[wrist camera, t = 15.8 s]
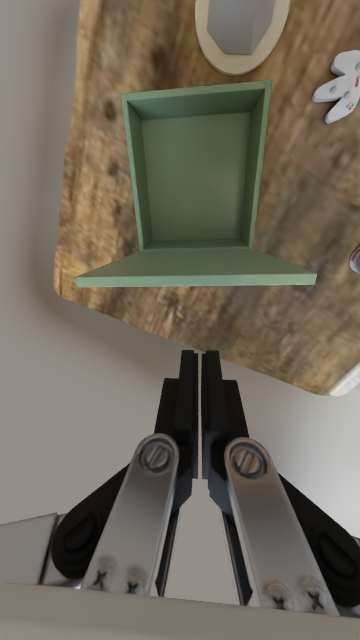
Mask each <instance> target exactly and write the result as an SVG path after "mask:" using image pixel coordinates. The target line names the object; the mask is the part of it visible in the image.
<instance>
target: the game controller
mask: <svg viewBox="0 0 360 640" xmlns="http://www.w3.org/2000/svg"><path fill="white" fill-rule="evenodd" d="M331 71H332V72H333V73H334V74H336V75H338V76H340V77H338V78H336V79H334V80H332V81H330V82H328V83H326V84H324V85H322V86H320V87H319V88H318V89H317V90H316V91H315V93H314V94H313V96H312V101H313V102H315V103H318V102H330V101H335V100H337V99H339V102H338V103H337V104H336V105H335V106H334V107H333V108H332V109H331V110H330V111H329V112H328V113H327V115H326V116H325V122H326V123H328V124H329V123H332V122H334V121H337V120H339V119H341V118H343V117H345V116H346V115H348V114H349V113H350V112H352V111H353V109H354V108H355V106H356V104H357V102H358V100H359V97H360V51H358V50H353V51H347V52H342V53H339V54H338V55H337V56H336V58H335V59H334V61H333V62H332V64H331Z"/></svg>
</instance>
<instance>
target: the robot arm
mask: <svg viewBox="0 0 360 640" xmlns="http://www.w3.org/2000/svg"><path fill="white" fill-rule="evenodd" d="M201 373H202V374H201V426H202V427H201V429H202V478H203V479H208V489H209V491H210V497H211V498H212V499H213V501H214V502H215V503H216V504H217V505H218V507H219V512H220V517H221V523H222V528H223V533H224V538H225V544H226V549H227V554H228V559H229V565H230V570H231V575H232V581H233V586H234V591H235V596H236V601H237V605H232V604H222V603H213V602H203V601H194V600H184V599H175V598H166V595H167V589H168V584H169V578H170V572H171V566H172V561H173V555H174V550H175V544H176V538H177V533H178V527H179V521H180V516H181V510H182V504H183V503H184V502H185V501H186V500H187V499H188V498H189V497H190V496H191V492H192V478H195V479H198V353H194V351H193V350H182V355H181V364H180V373H179V379H176V378H173V379H172V378H165V379H164V383H163V388H162V394H161V399H160V404H159V409H158V414H157V420H156V425H155V431H154V434H152V435H150V436H148V437H146V438H144V439H143V440H142V441H141V442H140V444H139V445H138V447H137V448H136V450H135V453H134V456H133V458H132V460H131V463H129V464H128V465H127V466H126V467H124V468H123V469H122V470H121V471H119V472H118V473H117V474H116V475H114V476H113V477H112V478H110V479H109V480H108V481H107V482H105V483H104V484H103V485H102V486H100V487H99V488H98V489H97V490H95V491H94V492H93V493H92V494H91V495H89V496H88V497H86V498H85V499H84V500H83V501H81V502H80V503H79V504H78V505H76V506H75V507H74V508H73V509H72V510H71V511H70V512H69V513H66V514H61V515H58V514H57V513H52V514H48V515H43V516H38V517H34V518H29V519H25V520H20V521H15V522H11V523H6V524H1V525H0V640H360V538H357V537H354V536H351V535H350V534H349V533H348V532H347V531H346V530H345V529H344V528H342V527H341V526H340V525H339V524H338V523H337V522H335V521H334V520H333V519H332V518H331V517H329V516H328V515H327V514H326V513H325V512H324V511H322V510H321V509H320V508H319V507H318V506H316V505H315V504H314V503H313V502H312V501H311V500H309V499H308V498H307V497H306V496H305V495H303V494H302V493H301V492H300V491H299V490H298V489H296V488H295V487H294V486H293V485H292V484H290V483H289V482H288V481H287V480H286V479H285V478H283V477H282V476H281V475H280V474H279V473H277V470H276V468H275V466H274V464H273V461H272V459H271V457H270V455H269V453H268V452H267V450H266V449H265V448H264V447H263V446H262V445H261V444H260V443H258V442H257V441H255V440H253V439H250V438H249V434H248V429H247V425H246V420H245V416H244V411H243V407H242V402H241V398H240V393H239V389H238V384H237V381H236V380H223V379H222V372H221V365H220V358H219V351H212V350H207V351H206V354H202V372H201Z"/></svg>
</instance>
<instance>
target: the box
mask: <svg viewBox="0 0 360 640" xmlns="http://www.w3.org/2000/svg"><path fill="white" fill-rule="evenodd" d="M271 86H272V80H267V81H254V82H243V83H232V84H221V85H210V86H199V87H188V88H177V89H166V90H155V91H144V92H133V93H122V94H121V101H122V109H123V117H124V125H125V133H126V141H127V149H128V157H129V165H130V173H131V181H132V189H133V198H134V206H135V214H136V222H137V230H138V238H139V246H140V252H150V251H189V250H229V249H253V241H254V232H255V224H256V215H257V206H258V198H259V189H260V181H261V172H262V164H263V155H264V146H265V138H266V129H267V121H268V112H269V104H270V95H271Z"/></svg>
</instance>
